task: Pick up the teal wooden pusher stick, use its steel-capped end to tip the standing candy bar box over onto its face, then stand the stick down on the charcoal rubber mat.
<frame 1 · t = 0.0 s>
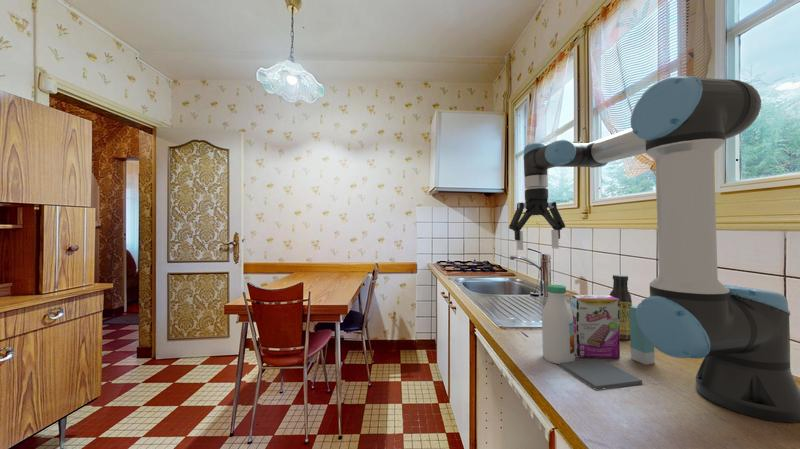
hand: (537, 249, 110), 28 cm above the worktop, tool pointing down, fingers open, 13 cm apart
milk bottle: (558, 360, 86), on the worktop
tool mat: (598, 374, 76), on the worktop
pusher stick: (642, 360, 83), on the worktop
candy bar box: (595, 355, 88), on the worktop
sauce bottle: (620, 337, 101), on the worktop
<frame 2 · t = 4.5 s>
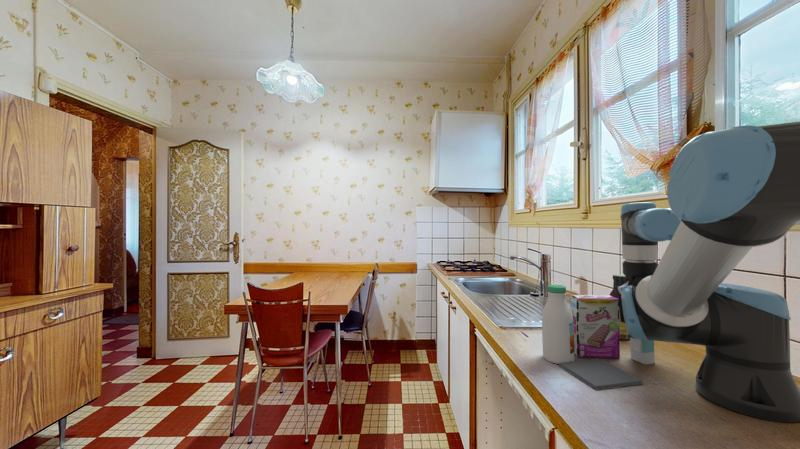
hand: (642, 349, 83), 3 cm above the worktop, tool pointing down, fingers closed on pusher stick, 3 cm apart
pusher stick: (642, 360, 83), on the worktop, touching gripper
everything else where it was.
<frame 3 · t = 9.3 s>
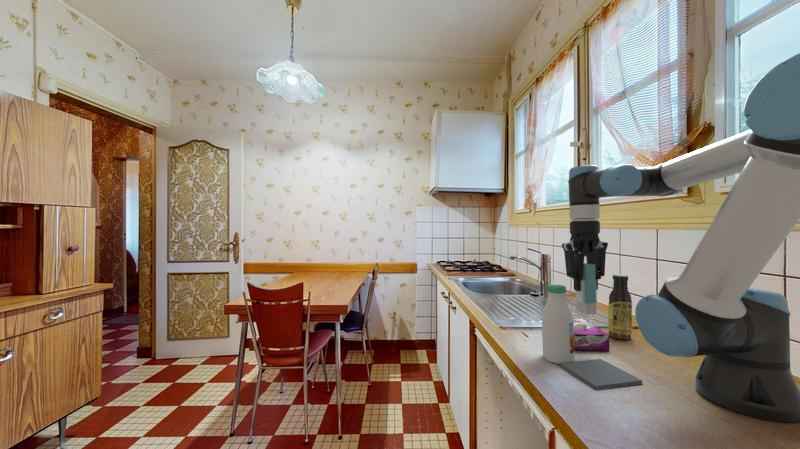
hand: (586, 301, 90), 14 cm above the worktop, tool pointing down, fingers closed on pusher stick, 3 cm apart
pusher stick: (586, 312, 91), point 11 cm above the worktop, touching gripper
candy bar box: (590, 342, 90), point 3 cm above the worktop
everything else where it was.
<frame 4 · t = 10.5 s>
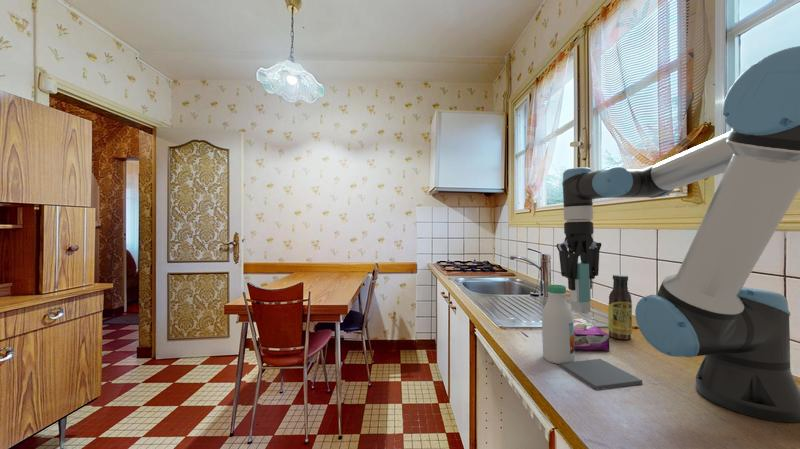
hand: (580, 300, 93), 14 cm above the worktop, tool pointing down, fingers closed on pusher stick, 3 cm apart
pusher stick: (580, 310, 93), point 11 cm above the worktop, touching gripper
everything else where it was.
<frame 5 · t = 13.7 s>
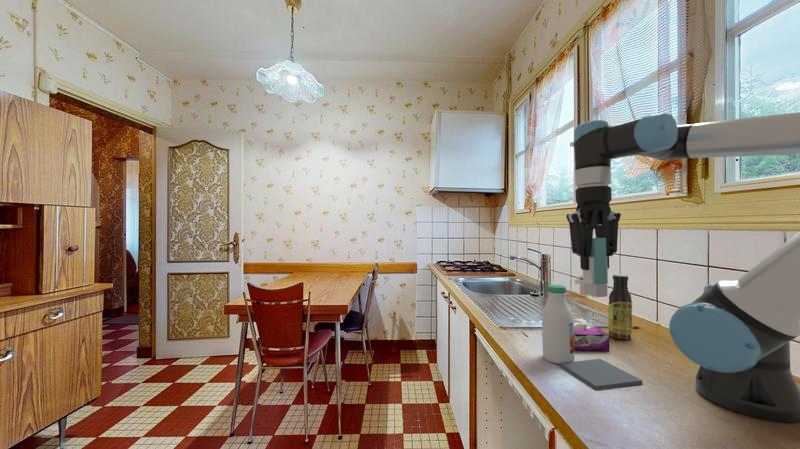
hand: (595, 282, 77), 22 cm above the worktop, tool pointing down, fingers closed on pusher stick, 3 cm apart
pusher stick: (595, 295, 77), point 19 cm above the worktop, touching gripper
everything else where it was.
when the fingers open (5 cm above the worktop, at t = 16.8 s): pusher stick drops 1 cm, resting on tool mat.
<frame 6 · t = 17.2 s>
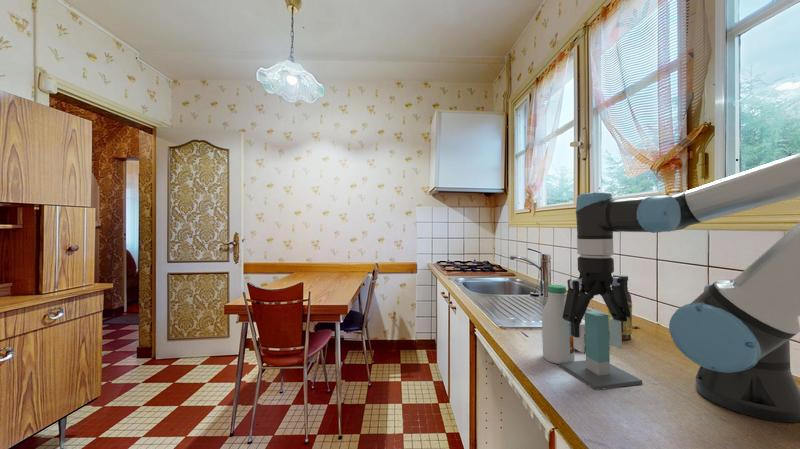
hand: (597, 348, 76), 6 cm above the worktop, tool pointing down, fingers open, 9 cm apart
pusher stick: (597, 371, 76), point 1 cm above the worktop, touching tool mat
everything else where it was.
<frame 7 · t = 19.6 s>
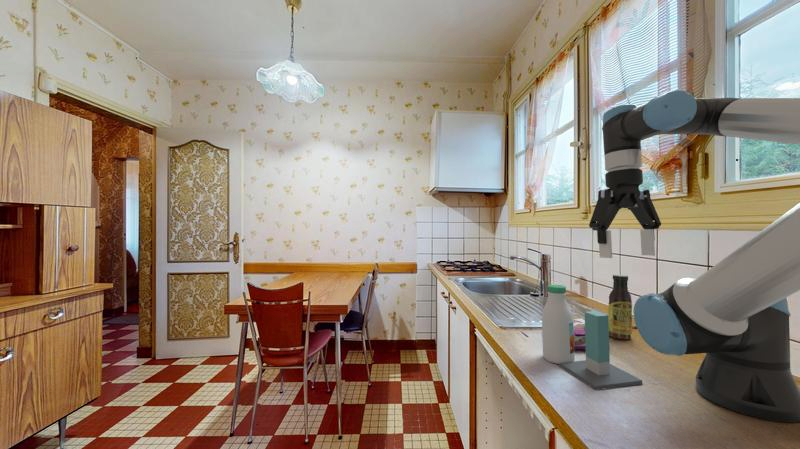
hand: (627, 256, 77), 28 cm above the worktop, tool pointing down, fingers open, 13 cm apart
nothing on the worktop moved.
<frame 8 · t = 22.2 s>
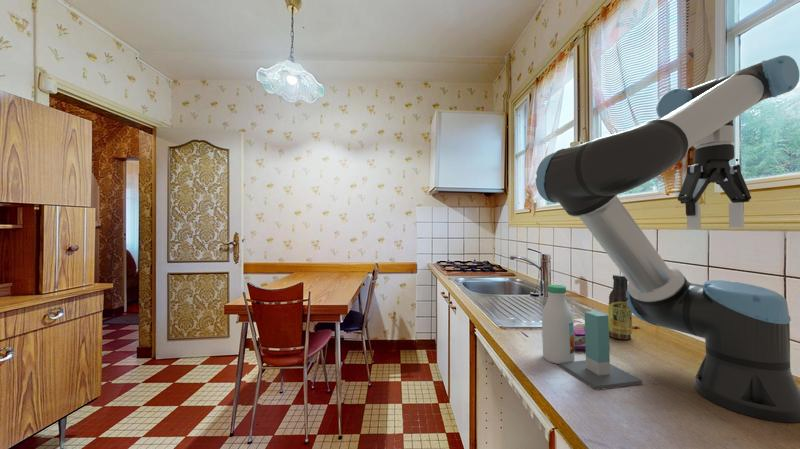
hand: (715, 228, 82), 35 cm above the worktop, tool pointing down, fingers open, 13 cm apart
nothing on the worktop moved.
at the end: candy bar box tilted 91°; pusher stick inside the target area on the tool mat (0.1 cm from its centre), point 0.8 cm above the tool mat's base; pusher stick tilted 0° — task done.
